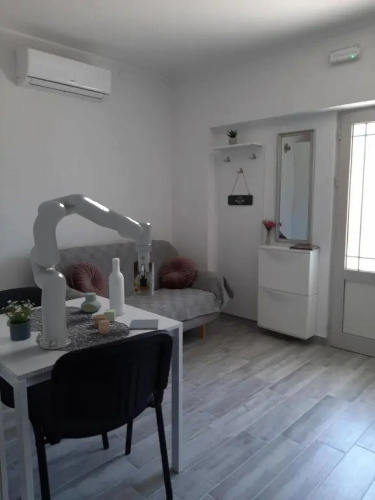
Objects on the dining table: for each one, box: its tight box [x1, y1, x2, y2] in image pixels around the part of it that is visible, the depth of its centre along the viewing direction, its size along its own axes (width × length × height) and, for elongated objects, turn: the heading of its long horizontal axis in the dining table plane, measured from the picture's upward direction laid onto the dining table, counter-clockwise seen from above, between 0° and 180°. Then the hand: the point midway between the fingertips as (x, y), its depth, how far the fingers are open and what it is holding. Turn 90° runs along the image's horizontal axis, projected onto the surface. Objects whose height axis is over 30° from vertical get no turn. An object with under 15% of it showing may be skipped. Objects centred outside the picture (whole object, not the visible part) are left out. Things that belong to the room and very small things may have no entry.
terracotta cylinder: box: [98, 320, 111, 335], centre depth 179 cm, size 5×5×5 cm
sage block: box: [103, 308, 117, 322], centre depth 197 cm, size 5×5×5 cm
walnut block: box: [94, 314, 107, 329], centre depth 188 cm, size 5×5×5 cm
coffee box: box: [133, 260, 155, 297], centre depth 187 cm, size 9×6×16 cm
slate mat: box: [129, 318, 159, 331], centre depth 189 cm, size 13×13×1 cm
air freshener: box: [80, 291, 102, 314], centre depth 213 cm, size 11×8×10 cm
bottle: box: [108, 257, 126, 317], centre depth 207 cm, size 8×8×30 cm
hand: (144, 284), depth 187 cm, fingers closed on coffee box, 6 cm apart
